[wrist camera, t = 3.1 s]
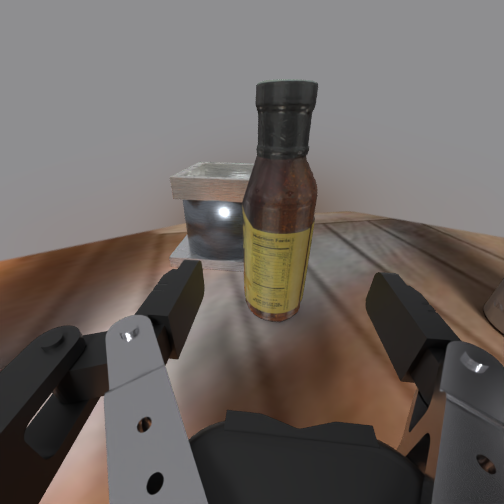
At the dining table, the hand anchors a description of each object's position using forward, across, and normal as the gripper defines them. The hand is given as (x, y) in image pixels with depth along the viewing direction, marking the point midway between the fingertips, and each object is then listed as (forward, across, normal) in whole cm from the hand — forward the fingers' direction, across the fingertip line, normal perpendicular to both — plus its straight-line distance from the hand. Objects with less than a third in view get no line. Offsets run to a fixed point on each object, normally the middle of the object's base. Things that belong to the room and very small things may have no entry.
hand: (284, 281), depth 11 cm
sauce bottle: (+10, 0, +11) cm, 15 cm away
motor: (+22, +7, +11) cm, 26 cm away
